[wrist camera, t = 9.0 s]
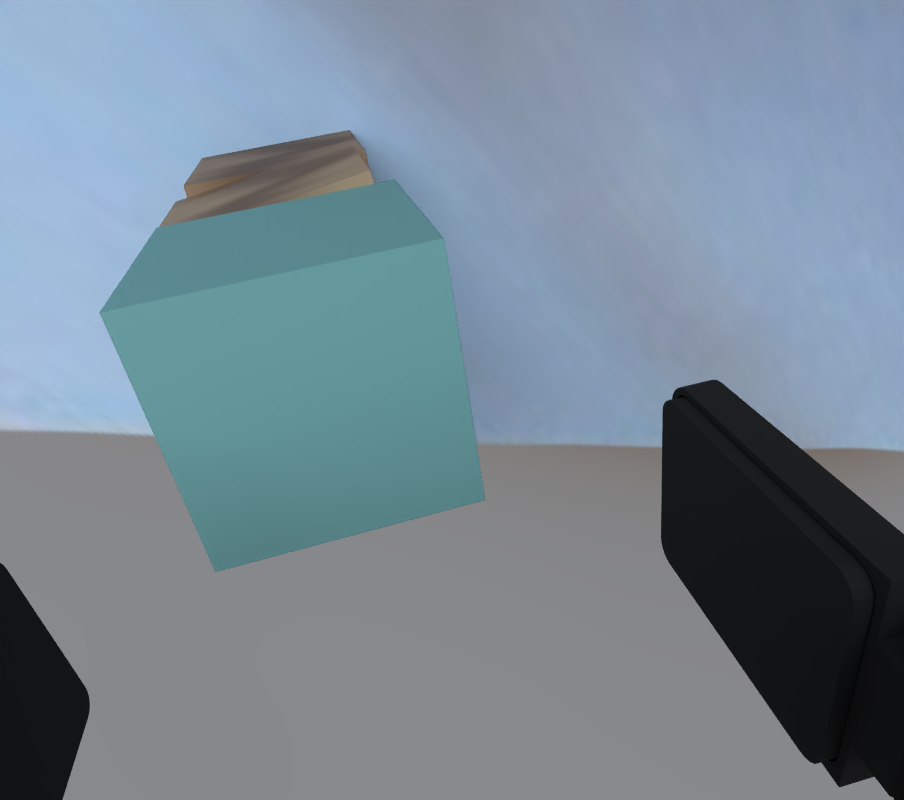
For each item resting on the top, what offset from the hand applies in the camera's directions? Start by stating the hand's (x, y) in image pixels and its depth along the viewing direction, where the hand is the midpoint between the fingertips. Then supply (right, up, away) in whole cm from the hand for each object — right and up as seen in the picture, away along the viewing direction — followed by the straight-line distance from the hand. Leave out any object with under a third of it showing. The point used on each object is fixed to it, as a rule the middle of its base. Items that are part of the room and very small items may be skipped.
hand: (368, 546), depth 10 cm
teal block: (-3, +4, +9) cm, 10 cm away
